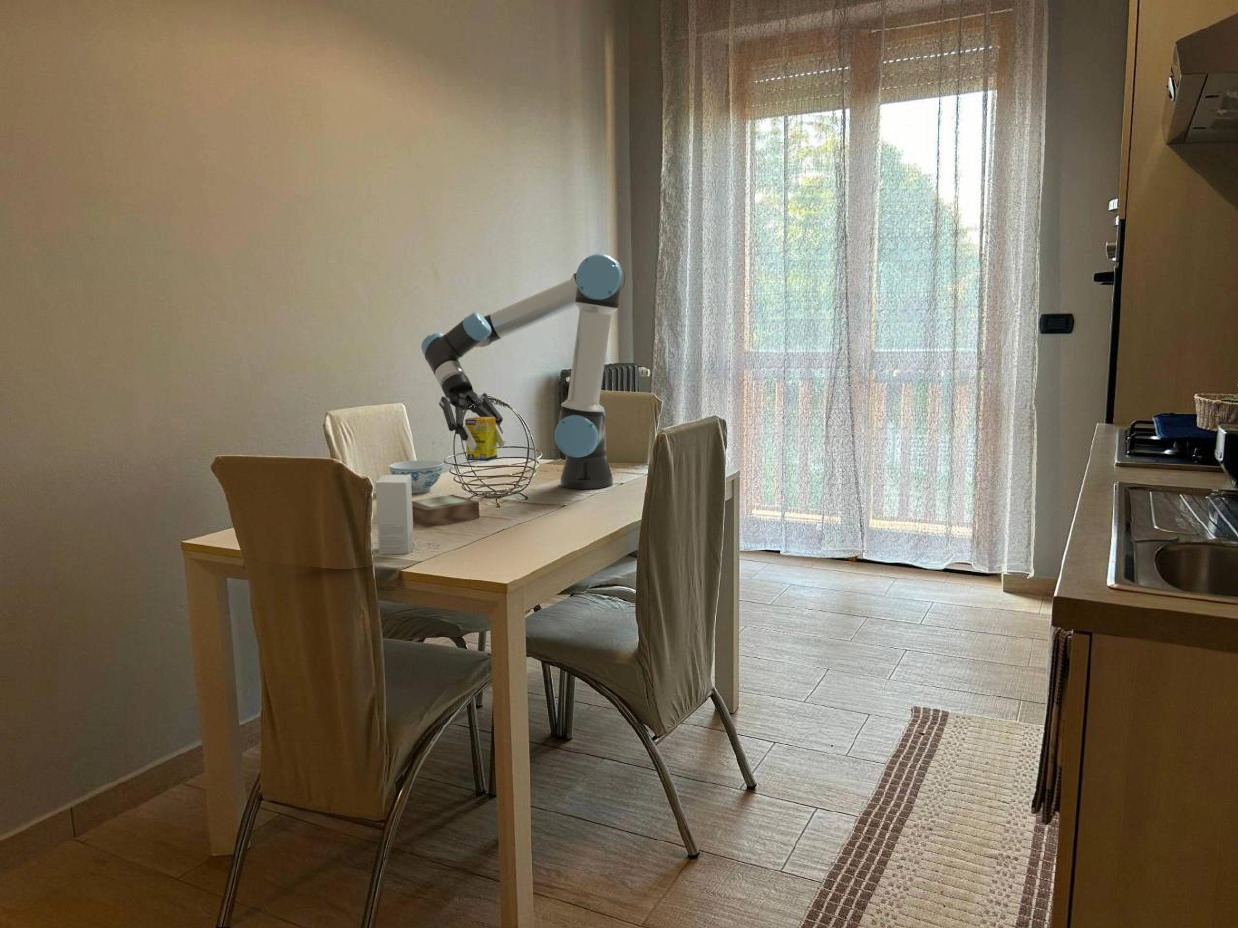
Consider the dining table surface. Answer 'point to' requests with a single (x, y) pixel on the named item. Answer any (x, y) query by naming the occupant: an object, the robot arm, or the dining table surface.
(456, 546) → the dining table surface
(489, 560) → the dining table surface
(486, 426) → the supplement box
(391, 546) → the skincare box
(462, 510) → the flat brown box
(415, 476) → the chinaware
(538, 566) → the dining table surface
